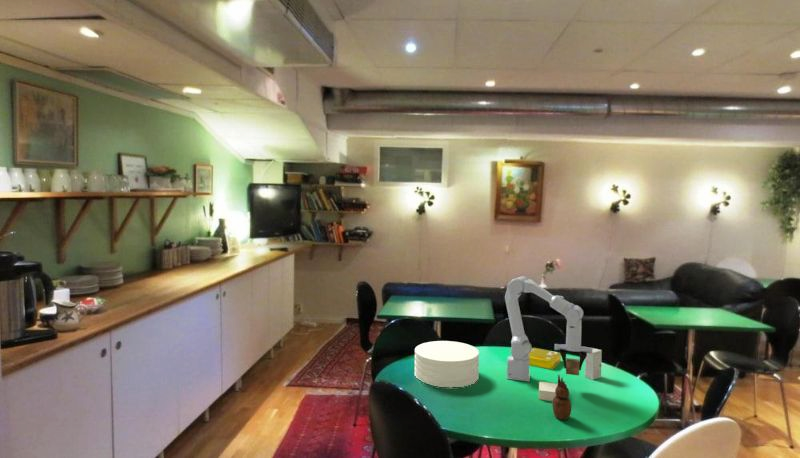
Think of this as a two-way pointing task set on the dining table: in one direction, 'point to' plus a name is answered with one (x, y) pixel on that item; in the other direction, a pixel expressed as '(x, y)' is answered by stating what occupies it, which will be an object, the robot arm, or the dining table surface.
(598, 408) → the dining table surface
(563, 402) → the wooden figurine
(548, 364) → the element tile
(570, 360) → the walnut cube
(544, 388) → the cream base block
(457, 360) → the plate stack
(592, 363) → the skincare box
